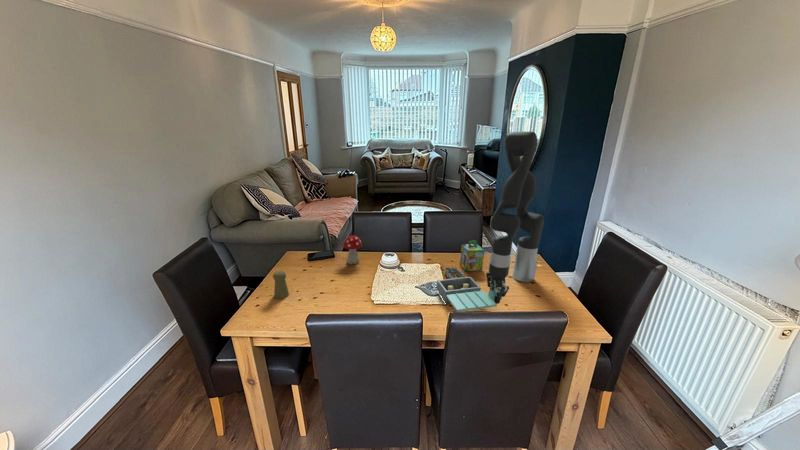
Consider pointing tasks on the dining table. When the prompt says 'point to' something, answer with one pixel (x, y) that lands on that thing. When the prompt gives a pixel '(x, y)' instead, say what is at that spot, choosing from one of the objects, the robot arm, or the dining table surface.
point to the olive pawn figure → (280, 285)
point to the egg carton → (453, 272)
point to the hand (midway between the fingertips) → (494, 300)
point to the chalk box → (471, 256)
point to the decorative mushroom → (352, 249)
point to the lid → (472, 300)
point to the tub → (456, 287)
